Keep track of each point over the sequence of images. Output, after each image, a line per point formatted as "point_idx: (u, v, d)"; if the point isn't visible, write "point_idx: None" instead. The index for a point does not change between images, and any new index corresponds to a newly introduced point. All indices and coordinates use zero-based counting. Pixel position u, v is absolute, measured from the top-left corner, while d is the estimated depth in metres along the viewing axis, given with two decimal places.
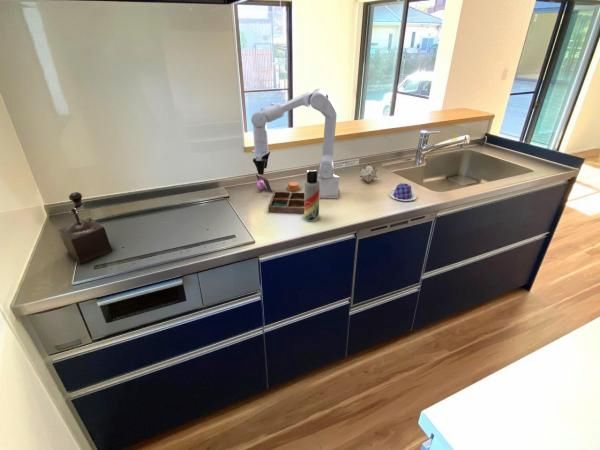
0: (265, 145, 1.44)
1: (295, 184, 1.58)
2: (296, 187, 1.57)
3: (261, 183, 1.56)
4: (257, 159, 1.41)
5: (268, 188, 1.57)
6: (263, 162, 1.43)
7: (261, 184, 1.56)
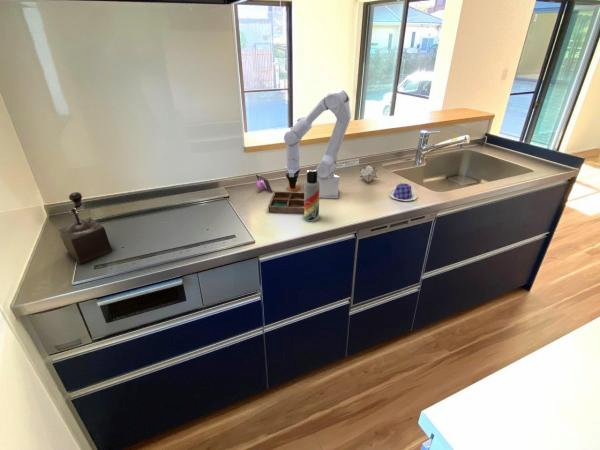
0: (297, 162, 1.51)
1: None
2: (296, 187, 1.57)
3: (261, 183, 1.56)
4: (290, 175, 1.49)
5: (268, 188, 1.57)
6: (296, 177, 1.52)
7: (261, 184, 1.56)
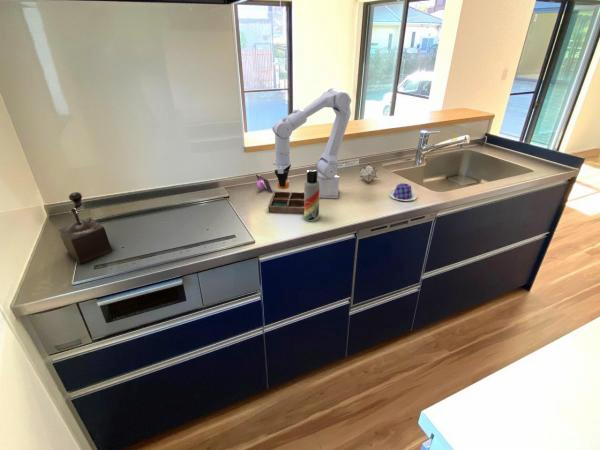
0: (287, 157, 1.36)
1: None
2: (286, 185, 1.42)
3: (261, 183, 1.56)
4: (279, 172, 1.33)
5: (268, 188, 1.57)
6: (285, 174, 1.36)
7: (261, 184, 1.56)
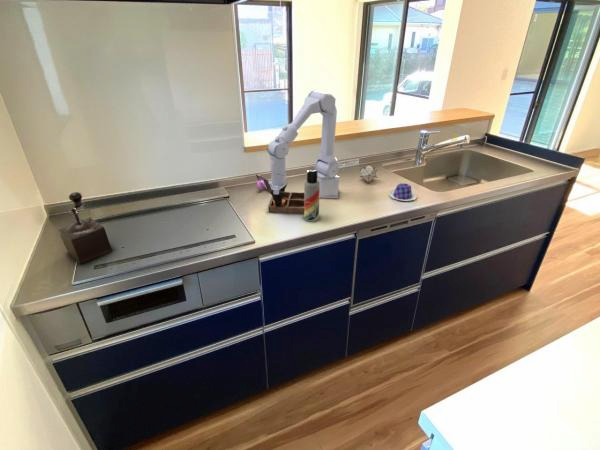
0: (283, 177, 1.33)
1: None
2: (282, 205, 1.39)
3: (261, 183, 1.56)
4: (275, 193, 1.31)
5: (268, 188, 1.57)
6: (281, 194, 1.34)
7: (261, 184, 1.56)
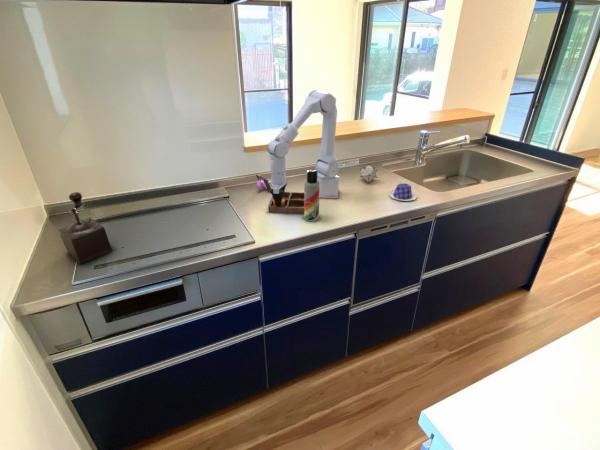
0: (283, 176, 1.33)
1: None
2: (282, 204, 1.39)
3: (261, 183, 1.56)
4: (275, 192, 1.31)
5: (268, 188, 1.57)
6: (281, 193, 1.34)
7: (261, 184, 1.56)
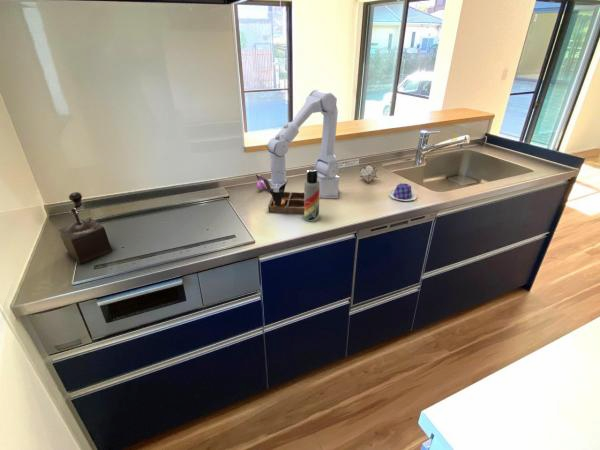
0: (283, 175, 1.33)
1: (281, 202, 1.40)
2: (282, 205, 1.40)
3: (261, 183, 1.56)
4: (275, 190, 1.30)
5: (268, 188, 1.57)
6: (281, 193, 1.32)
7: (261, 184, 1.56)
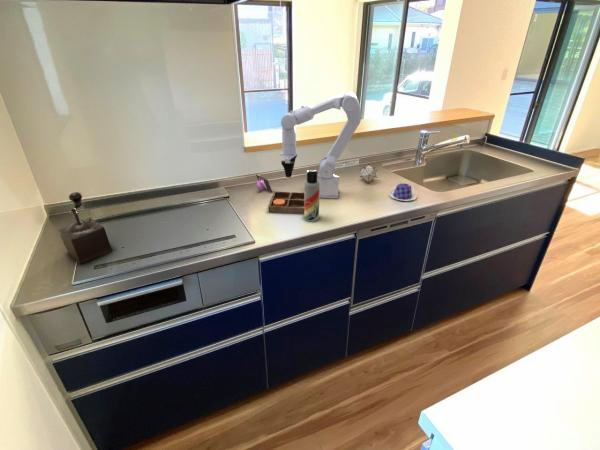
0: (294, 147, 1.43)
1: (281, 202, 1.40)
2: (282, 205, 1.40)
3: (261, 183, 1.56)
4: (286, 162, 1.41)
5: (268, 188, 1.57)
6: (292, 164, 1.42)
7: (261, 184, 1.56)
